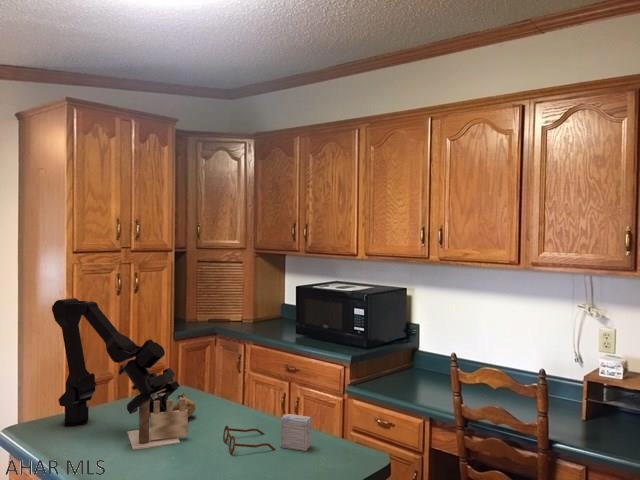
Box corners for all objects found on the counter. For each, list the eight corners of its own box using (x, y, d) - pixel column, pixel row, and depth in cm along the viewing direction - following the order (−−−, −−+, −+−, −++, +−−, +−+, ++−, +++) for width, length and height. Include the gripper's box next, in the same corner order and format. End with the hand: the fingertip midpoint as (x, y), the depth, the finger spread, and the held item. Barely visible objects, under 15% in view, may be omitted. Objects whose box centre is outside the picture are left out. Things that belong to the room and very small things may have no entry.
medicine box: (311, 446, 160) (311, 416, 160) (305, 452, 156) (306, 421, 155) (286, 442, 162) (286, 413, 162) (280, 447, 158) (280, 417, 158)
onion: (165, 420, 178) (165, 396, 178) (180, 413, 186) (181, 389, 186) (185, 424, 176) (185, 399, 175) (199, 416, 183) (200, 392, 183)
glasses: (222, 440, 164) (222, 423, 164) (264, 435, 169) (264, 419, 169) (231, 457, 152) (231, 439, 152) (276, 451, 156) (277, 434, 156)
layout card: (133, 449, 154) (133, 448, 154) (127, 432, 167) (127, 431, 167) (179, 443, 160) (179, 441, 160) (171, 426, 173) (171, 425, 173)
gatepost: (139, 446, 157) (139, 399, 157) (137, 442, 160) (138, 396, 160) (149, 444, 158) (150, 397, 158) (148, 440, 161) (149, 395, 161)
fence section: (150, 440, 159) (151, 402, 159) (150, 438, 160) (150, 401, 160) (187, 435, 163) (188, 399, 163) (187, 434, 164) (187, 397, 164)
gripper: (137, 368, 155) (167, 413, 152) (176, 354, 173) (204, 395, 170) (113, 391, 158) (142, 436, 155) (154, 375, 176) (181, 415, 173)
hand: (169, 419), depth 163 cm, fingers closed
